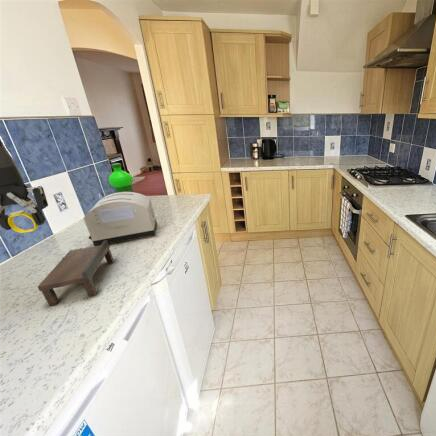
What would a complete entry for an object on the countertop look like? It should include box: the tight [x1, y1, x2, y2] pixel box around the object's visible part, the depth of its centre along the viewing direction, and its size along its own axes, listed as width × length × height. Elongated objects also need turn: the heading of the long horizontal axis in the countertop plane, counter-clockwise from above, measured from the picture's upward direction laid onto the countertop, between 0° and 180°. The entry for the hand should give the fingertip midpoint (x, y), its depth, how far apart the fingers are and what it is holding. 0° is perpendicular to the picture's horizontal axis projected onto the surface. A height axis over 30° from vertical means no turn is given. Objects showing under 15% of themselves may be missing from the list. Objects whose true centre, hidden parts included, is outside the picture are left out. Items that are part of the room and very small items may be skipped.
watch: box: [8, 209, 40, 234], centre depth 66 cm, size 6×3×6 cm, turn 103°
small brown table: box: [37, 240, 115, 307], centre depth 75 cm, size 11×20×8 cm, turn 21°
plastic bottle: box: [108, 162, 135, 193], centre depth 130 cm, size 10×10×25 cm
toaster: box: [83, 192, 158, 246], centre depth 105 cm, size 23×25×17 cm
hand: (25, 226), depth 67 cm, fingers closed on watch, 6 cm apart
